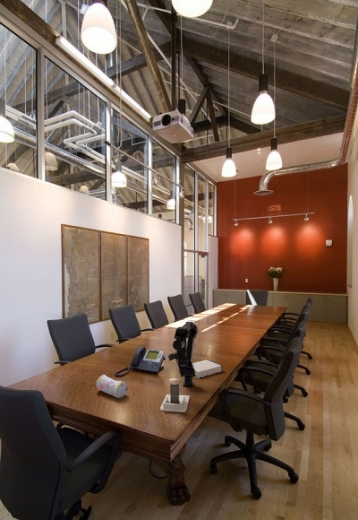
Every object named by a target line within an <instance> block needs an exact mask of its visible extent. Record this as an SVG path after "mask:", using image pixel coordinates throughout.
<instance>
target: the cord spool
mask: <svg viewBox="0 0 358 520" xmlns="http://www.w3.org/2000/svg"><path fill="white" fill-rule="evenodd" d="M180 383H181V379H180V378H177V377H174V378H170V379H168V384H169V391H170V392H169V395H170V402H169V403H172V404H181V402H180V401H179V395H180Z"/></svg>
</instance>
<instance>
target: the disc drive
mask: <svg viewBox="0 0 358 520" xmlns="http://www.w3.org/2000/svg"><path fill="white" fill-rule="evenodd" d="M192 363H193V365H194V369H195V375H196V376H194V377H196V378H197V379H200V377H201V378H204V377H207V375H208V376H210V375H211V376H212V375H215V374H217V372H218V373H222V372H223V365H222V364H220V363H219V362H218V363H217V362H215V361H213V360H210V359H209V358H207V359H204V360H201V361H195V362H192ZM214 373H215V374H214Z"/></svg>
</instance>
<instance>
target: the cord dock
mask: <svg viewBox="0 0 358 520" xmlns="http://www.w3.org/2000/svg"><path fill="white" fill-rule="evenodd" d="M190 397H191V396H190V395H187V394H185V395H181V394H179V401H180V402H181V404H172V403H169V402H170V394H166V395H165V397H164V399H163V402H162V404H161V405H160V408H159V409H160V412H175V413H176V412H178V413H186V412H187V409H188V405H189V402H190Z"/></svg>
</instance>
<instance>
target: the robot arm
mask: <svg viewBox="0 0 358 520" xmlns="http://www.w3.org/2000/svg"><path fill="white" fill-rule="evenodd" d="M198 334H199V328H198V325H196V324H195V323H194V322H193V321H186V322H185V323H184V324H183V325H182V326H178V327H177V328H176V329H175V332H174V336H173V338H174V339H175V340H174V341H173V342H172V347H173V349H174V350H175V352H172V353H169V354H167V358H168V361H169V362H171V361H173V360H175V362H176V364H177V366H178V372H179V374H180V377H181V378H183V383H182V387H194V384H195V383H194V380H193V379H194V377H195V376H196V375H195V369H194V365H193V363H194V362H193V354H194V345H195V340H196V338H197V337H198Z"/></svg>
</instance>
